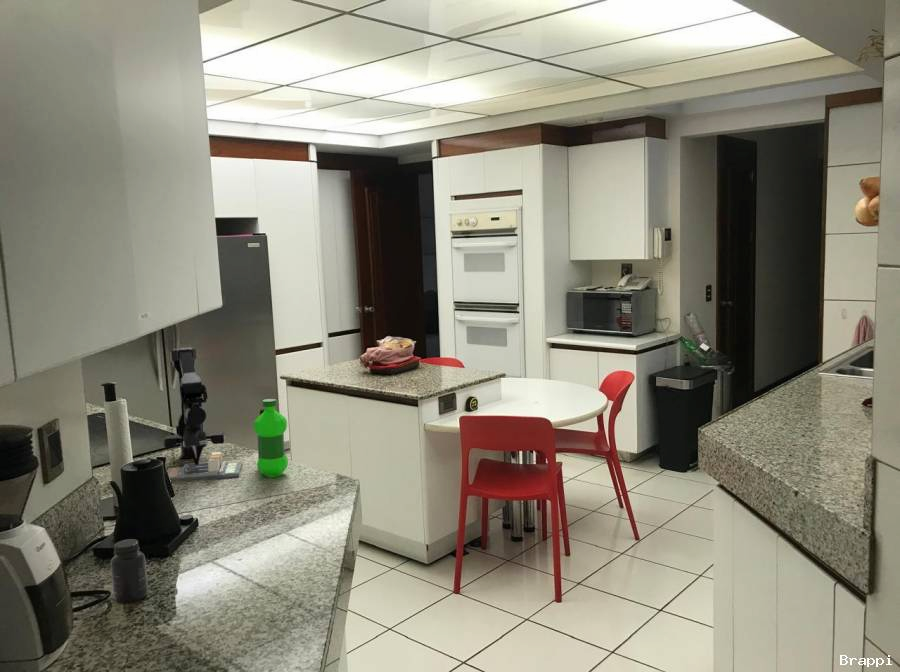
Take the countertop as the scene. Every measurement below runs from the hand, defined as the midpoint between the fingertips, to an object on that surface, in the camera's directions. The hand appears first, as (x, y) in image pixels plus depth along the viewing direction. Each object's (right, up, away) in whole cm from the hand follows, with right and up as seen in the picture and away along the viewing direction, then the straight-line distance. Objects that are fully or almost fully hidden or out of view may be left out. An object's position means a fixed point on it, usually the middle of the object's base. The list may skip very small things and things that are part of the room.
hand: (197, 464), depth 240 cm
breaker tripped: (+6, -2, +1) cm, 6 cm away
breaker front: (+7, -2, -3) cm, 7 cm away
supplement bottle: (+15, -13, -85) cm, 87 cm away
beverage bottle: (+22, -2, +8) cm, 23 cm away
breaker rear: (+5, -1, +5) cm, 7 cm away
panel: (+2, -3, +1) cm, 4 cm away
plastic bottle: (+26, -3, -2) cm, 26 cm away
